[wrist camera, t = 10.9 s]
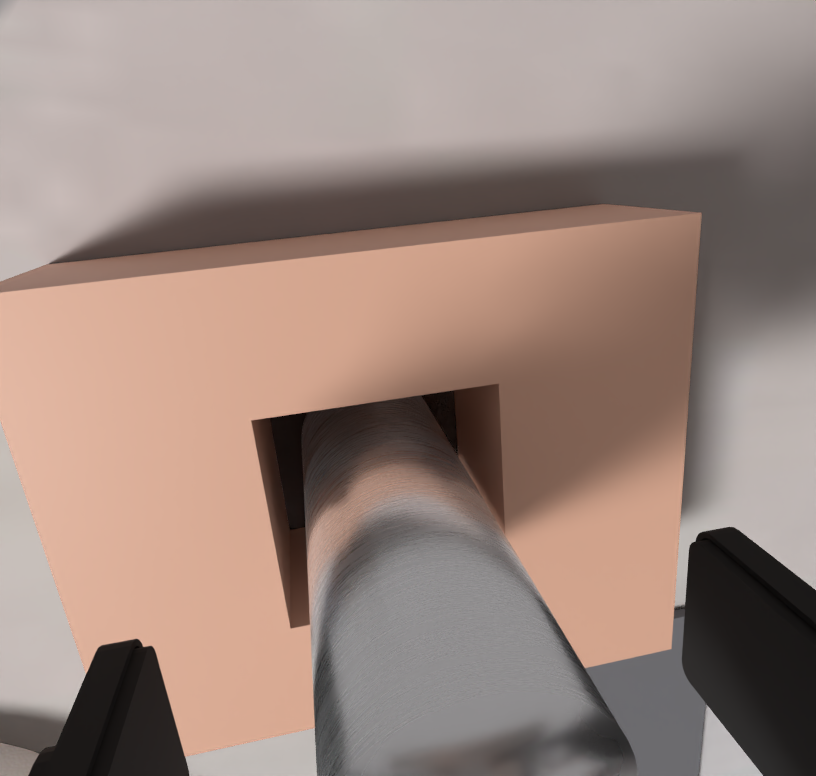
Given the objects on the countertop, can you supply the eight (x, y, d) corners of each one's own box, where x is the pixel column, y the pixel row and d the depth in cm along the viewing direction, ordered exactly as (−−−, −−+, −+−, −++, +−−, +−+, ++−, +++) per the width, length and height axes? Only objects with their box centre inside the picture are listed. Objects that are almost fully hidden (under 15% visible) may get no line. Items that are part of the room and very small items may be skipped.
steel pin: (427, 363, 18) (644, 660, 7) (437, 483, 20) (632, 888, 9) (292, 383, 18) (296, 736, 7) (311, 505, 19) (343, 968, 8)
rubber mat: (707, 603, 23) (714, 610, 23) (687, 824, 28) (692, 833, 27) (396, 669, 22) (398, 677, 21) (423, 894, 26) (425, 905, 25)
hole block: (603, 203, 18) (701, 212, 14) (597, 557, 22) (671, 649, 18) (46, 264, 16) (-42, 297, 11) (154, 644, 20) (119, 771, 15)
